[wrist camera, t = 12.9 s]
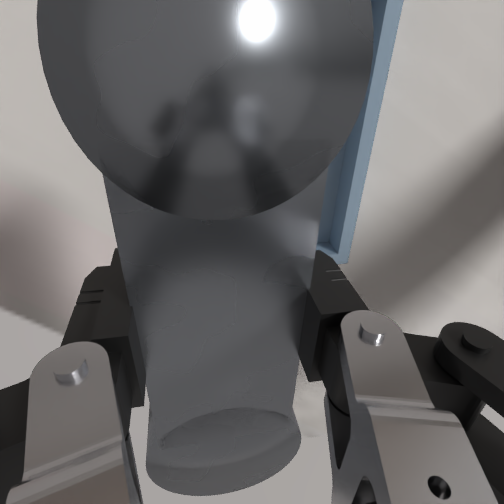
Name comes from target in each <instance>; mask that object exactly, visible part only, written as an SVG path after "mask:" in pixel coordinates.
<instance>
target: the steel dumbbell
mask: <svg viewBox="0 0 504 504" xmlns="http://www.w3.org/2000/svg"><path fill="white" fill-rule="evenodd" d="M37 28H38V43H39V50H40V55H41V60H42V65H43V70H44V74H45V77H46V80H47V83H48V87H49V90H50V93H51V96H52V98H53V101H54V103H55V105H56V107H57V110H58V112H59V114H60V116H61V118H62V120H63V122H64V124H65V125H66V127H67V129H68V130H69V132H70V134H71V135H72V137H73V139H74V140H75V142H76V143H77V144H78V146H79V147H80V148H81V150H82V151H83V152H84V154H85V155H86V156H87V158H88V159H89V160H90V161H91V162H92V163H93V164H94V165H95V166H96V167H97V168H98V169H99V170H100V171H101V172H102V174H103V178H104V183H105V188H106V193H107V198H108V203H109V208H110V212H111V217H112V222H113V227H114V232H115V237H116V242H117V246H118V251H119V256H120V261H121V266H122V271H123V275H124V280H125V285H126V290H127V295H128V300H129V305H130V306H133V311H134V316H135V321H136V326H137V331H138V336H139V341H140V346H141V351H142V356H143V361H144V366H145V371H146V387H147V392H148V396H149V402H150V409H149V424H148V439H147V455H146V470H147V473H148V475H149V477H150V478H151V479H152V481H153V482H154V483H155V484H157V485H158V486H160V487H161V488H163V489H165V490H168V491H171V492H174V493H178V494H183V495H191V496H207V495H208V496H209V495H218V494H224V493H230V492H234V491H238V490H241V489H245V488H247V487H250V486H253V485H255V484H258V483H260V482H262V481H264V480H266V479H268V478H270V477H271V476H273V475H274V474H276V473H278V472H279V471H280V470H282V469H283V468H284V467H285V466H286V465H287V464H288V463H289V462H290V461H291V460H292V459H293V458H294V456H295V455H296V453H297V451H298V449H299V447H300V443H301V433H300V430H299V426H298V423H297V420H296V417H295V414H294V411H293V408H292V405H293V398H294V392H295V385H296V378H297V372H298V365H299V355H298V352H299V345H300V338H301V332H302V325H303V318H304V311H305V304H306V297H307V291H308V289H310V285H311V279H312V272H313V265H314V259H315V252H316V246H317V239H318V232H319V226H320V219H321V212H322V206H323V199H324V192H325V186H326V179H327V172H328V166H329V165H330V163H331V162H332V161H333V159H334V158H335V157H336V156H337V154H338V153H339V152H340V150H341V148H342V147H343V145H344V143H345V142H346V140H347V139H348V137H349V135H350V133H351V131H352V129H353V127H354V125H355V123H356V121H357V119H358V116H359V113H360V110H361V108H362V105H363V102H364V99H365V95H366V91H367V87H368V83H369V79H370V73H371V66H372V58H373V38H374V28H373V16H372V5H371V0H38V4H37Z"/></svg>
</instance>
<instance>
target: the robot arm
mask: <svg viewBox="0 0 504 504" xmlns="http://www.w3.org/2000/svg"><path fill="white" fill-rule="evenodd" d="M298 355H299V358H300V361H301V363H302V366H303V368H304V371H305V373H306V376H307V379H308V381H309V382H314V381H320V380H322V381H323V383H324V386H325V388H326V392H325V397H324V407H325V416H326V424H327V433H328V441H329V450H330V459H331V468H332V478H333V479H332V480H333V487H332V504H504V433H503V432H502V431H501V430H499V429H498V428H497V427H496V426H494V425H493V424H492V423H491V422H490V421H489V420H487V419H486V418H485V417H484V416H483V415H481V414H480V412H481V411H482V409H483V408H484V406H485V405H486V404H488V405H489V406H490V407H491V408H492V409H494V410H495V411H496V412H497V413H499V414H500V415H501V416H502V417H504V340H502V339H501V338H499V337H498V336H496V335H495V334H493V333H491V332H490V331H488V330H486V329H484V328H482V327H479V326H477V325H473V324H469V323H463V322H454V323H449V324H447V325H445V326H444V327H443V328H442V330H441V332H440V335H439V337H438V338H437V337H429V336H422V335H414V334H408V333H403V332H402V330H401V328H400V327H399V326H398V325H397V324H396V323H395V322H394V321H393V320H392V319H390V318H389V317H387V316H385V315H383V314H380V313H377V312H374V311H369V309H368V308H367V306H366V305H365V303H364V302H363V301H362V299H361V298H360V296H359V295H358V294H357V292H356V291H355V289H354V288H353V286H352V285H351V284H350V282H349V281H348V280H346V277H345V275H344V274H343V272H342V271H340V268H339V267H338V265H337V264H336V262H335V261H334V259H333V258H331V257H330V256H328V255H327V254H325V253H324V252H322V251H321V250H316V252H315V259H314V265H313V272H312V279H311V285H310V289H308V291H307V297H306V304H305V311H304V318H303V325H302V332H301V338H300V345H299V352H298ZM145 385H146V371H145V366H144V361H143V356H142V351H141V346H140V341H139V336H138V331H137V326H136V321H135V316H134V311H133V306H130V305H129V300H128V295H127V290H126V285H125V280H124V275H123V271H122V266H121V261H120V256H119V251H118V248H115V251H114V254H113V258H112V262H111V265H110V266H102V267H96V268H95V269H94V270H93V271H92V272H91V273H90V274H89V275H88V276H87V277H86V278H85V280H84V282H83V285H82V288H81V291H80V294H79V296H78V299H77V302H76V306H75V307H74V310H73V313H72V316H71V318H70V321H69V324H68V327H67V330H66V332H65V335H64V338H63V341H62V343H61V346H60V347H59V348H57V349H55V350H53V351H52V352H50V353H49V354H47V355H46V356H45V357H44V358H42V359H41V360H40V361H39V363H38V364H37V365H36V366H35V368H34V369H33V371H32V374H31V376H30V378H29V379H27V380H25V381H23V382H20V383H18V384H15V385H12V386H10V387H7V388H4V389H2V390H0V504H143V500H142V495H141V490H140V484H139V479H138V474H137V469H136V464H135V458H134V453H133V448H132V443H131V437H130V433H129V426H130V416H131V408H134V407H140V406H144V396H145Z"/></svg>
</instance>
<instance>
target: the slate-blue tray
mask: <svg viewBox="0 0 504 504" xmlns="http://www.w3.org/2000/svg"><path fill="white" fill-rule="evenodd" d="M403 1H404V0H371V5H372V16H373V28H374V38H373V58H372V66H371V73H370V79H369V83H368V87H367V91H366V95H365V99H364V102H363V105H362V108H361V110H360V113H359V116H358V119H357V121H356V123H355V125H354V127H353V129H352V131H351V133H350V135H349V137H348V139H347V140H346V142H345V143H344V145H343V147H342V148H341V150H340V152H339V153H338V154H337V156H336V157H335V158H334V159H333V161H332V162H331V163H330V165H329V166H328V172H327V179H326V186H325V192H324V199H323V206H322V212H321V219H320V226H319V232H318V239H317V246H316V250H321V251H322V252H324V253H325V254H327V255H328V256H330V257H331V258H333V259H334V261H335V262H336V264H345V263H348V258H349V253H350V249H351V244H352V239H353V235H354V230H355V225H356V221H357V216H358V211H359V207H360V202H361V197H362V192H363V188H364V183H365V178H366V174H367V169H368V164H369V160H370V155H371V150H372V146H373V141H374V136H375V132H376V127H377V122H378V118H379V113H380V108H381V104H382V99H383V94H384V90H385V85H386V80H387V76H388V71H389V66H390V62H391V57H392V52H393V48H394V43H395V38H396V33H397V29H398V24H399V19H400V15H401V10H402V5H403Z"/></svg>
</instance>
